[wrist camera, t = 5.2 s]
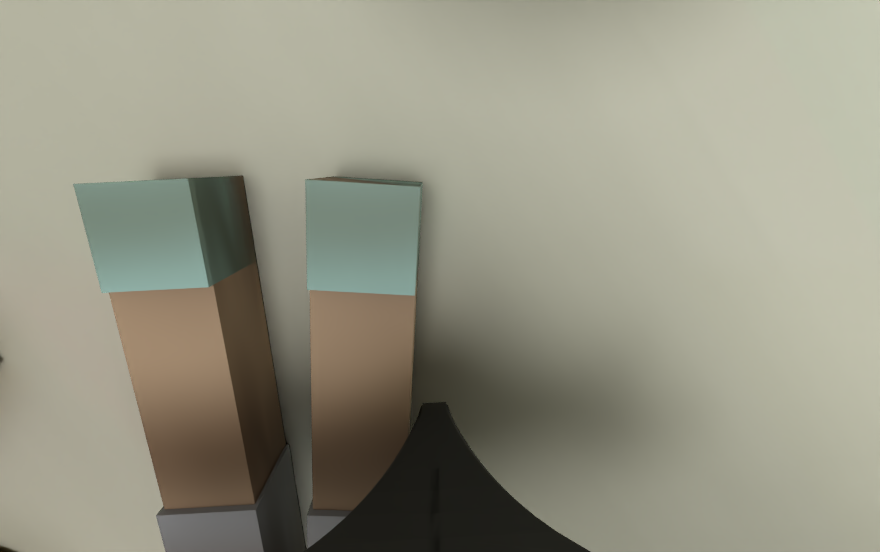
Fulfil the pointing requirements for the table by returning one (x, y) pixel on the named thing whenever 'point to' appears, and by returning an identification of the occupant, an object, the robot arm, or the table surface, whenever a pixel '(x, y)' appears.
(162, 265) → the tongs fixed arm
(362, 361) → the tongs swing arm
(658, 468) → the table surface
